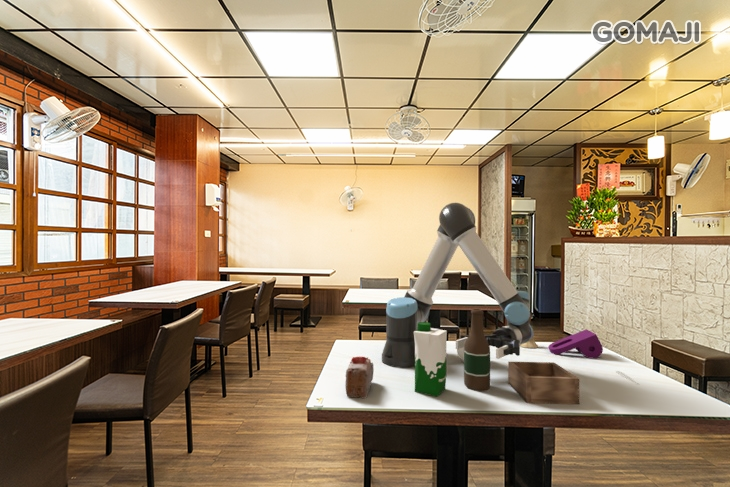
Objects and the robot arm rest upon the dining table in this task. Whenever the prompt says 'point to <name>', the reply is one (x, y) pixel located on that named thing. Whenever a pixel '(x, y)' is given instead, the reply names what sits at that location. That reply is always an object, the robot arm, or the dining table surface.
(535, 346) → the hand bell
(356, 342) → the dining table surface
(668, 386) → the dining table surface
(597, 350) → the mounting bracket
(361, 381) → the food item
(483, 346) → the beer bottle
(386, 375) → the dining table surface
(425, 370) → the milk carton
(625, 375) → the butter knife
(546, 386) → the walnut box
